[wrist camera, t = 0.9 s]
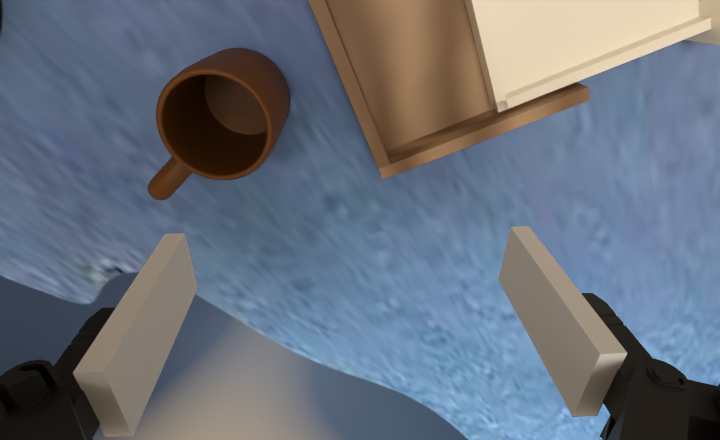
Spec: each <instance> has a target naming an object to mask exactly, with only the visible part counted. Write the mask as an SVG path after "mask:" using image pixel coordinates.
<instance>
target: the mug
mask: <svg viewBox="0 0 720 440" xmlns="http://www.w3.org/2000/svg"><path fill="white" fill-rule="evenodd" d="M289 106H290V95H289V89H288V86H287V83H286V80H285V78H284V77H283V75H282V73H281V72H280V70H279V69H278V68H277V66H276V65H275V64H274V63H273V62H272V61H270V60H269V59H268V58H266V57H265V56H263V55H261V54H260V53H258V52H255V51H252V50H248V49H243V48H232V49H226V50H223V51H220V52H217V53H215V54H213V55H211V56H209V57H206V58H204V59H202V60H200V61H198V62H196V63H194V64H192V65H191V66H189V67H187V68H185V69H184V70H183V71H181V72H180V73H179V74H178V75H176V76H175V77H174V78H173V79H172V80H171V81H170V82H169V83H168V84H167V85H166V86H165V88H164V89H163V91H162V92H161V95H160V97H159V100H158V103H157V109H156V121H157V127H158V131H159V134H160V137H161V139H162V141H163V143H164V145H165V147H166V148H167V150H168V151H169V153H170V154H171V155H172V158H171V159H170V160H169V161H168V162H167V163H166V164H165V165H164V166H163V167H162V169H161V170H160V171H159V172H158V173H157V174H156V175H155V176H154V178H153V179H152V180H151V181H150V183H149V185H148V192H149V194H150V195H151V196H152V197H153V198H155V199H157V200H165V199H167V198H169V197H170V196H171V195H172V194H173V193H174V192H175V191H176V190H177V189H178V188H179V187H180V185H181V184H182V183H183V182H184V181H185V180H186V179H187V178H188V177H189V176H190V174H191V173H192V172H193V173H195V174H198V175H200V176H203V177H206V178H209V179H215V180H232V179H238V178H241V177H244V176H246V175H248V174H250V173H252V172H253V171H255V170H256V169H257V168H258V167H260V166H261V164H262V163H263V162H264V161H265V160H266V158H267V157H268V155H269V154H270V153H271V151H272V150H273V148H274V146H275V144H276V142H277V139H278V137H279V135H280V133H281V131H282V128H283V126H284V123H285V121H286V119H287V116H288V112H289Z"/></svg>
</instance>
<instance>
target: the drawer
mask: <svg viewBox="0 0 720 440" xmlns="http://www.w3.org/2000/svg"><path fill="white" fill-rule="evenodd" d="M465 4H466V8H467V12H468V16H469V20H470V24H471V28H472V32H473V36H474V40H475V44H476V48H477V52H478V56H479V60H480V64H481V68H482V72H483V76H484V80H485V84H486V88H487V92H488V96H489V100H490V104H491V107H492V108H494V109H495V110H496V111H497V112H501V111H504V110H506V109H509V108H512V107H514V106H517V105H519V104H522V103H524V102H527V101H529V100H532V99H534V98H537V97H539V96H542V95H545V94H547V93H550V92H552V91H555V90H557V89H560V88H562V87H565V86H567V85H570V84H572V83H575V82H578V81H580V80H583V79H585V78H588V77H590V76H593V75H595V74H598V73H600V72H603V71H605V70H608V69H611V68H613V67H616V66H618V65H621V64H623V63H626V62H628V61H631V60H633V59H636V58H638V57H641V56H643V55H646V54H649V53H651V52H654V51H656V50H659V49H661V48H664V47H666V46H669V45H671V44H674V43H676V42H679V41H682V40H688V41H695V42H701V43H708V44H714V45H720V0H465Z"/></svg>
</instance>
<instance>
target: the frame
mask: <svg viewBox="0 0 720 440" xmlns="http://www.w3.org/2000/svg"><path fill="white" fill-rule="evenodd" d="M308 1H309V3H310V6H311V8H312V10H313V13H314V15H315V18H316V20H317V22H318V25H319V27H320V30H321V32H322V34H323V37H324V39H325V42H326V44H327V46H328V49H329V51H330V54H331V56H332V58H333V61H334V63H335V66H336V68H337V70H338V73H339V75H340V78H341V80H342V82H343V85H344V87H345V90H346V92H347V94H348V97H349V99H350V102H351V104H352V106H353V109H354V111H355V114H356V116H357V118H358V121H359V123H360V126H361V128H362V130H363V133H364V135H365V138H366V140H367V142H368V145H369V147H370V150H371V152H372V154H373V157H374V159H375V161H376V164H377V166H378V169H379V171H380V173H381V176H382V178H383V179H386V178H388V177H391V176H393V175H396V174H399V173H401V172H404V171H406V170H409V169H412V168H414V167H417V166H419V165H422V164H425V163H427V162H430V161H432V160H435V159H437V158H440V157H443V156H445V155H448V154H450V153H453V152H456V151H458V150H461V149H463V148H466V147H469V146H471V145H474V144H476V143H479V142H482V141H484V140H487V139H489V138H492V137H495V136H497V135H500V134H502V133H505V132H508V131H510V130H513V129H515V128H518V127H521V126H523V125H526V124H528V123H531V122H534V121H536V120H539V119H541V118H544V117H547V116H549V115H552V114H554V113H557V112H559V111H562V110H565V109H567V108H570V107H572V106H575V105H578V104H580V103H583V102H585V101H588V100H590V95H589V87H587V86H584V85H582V84H579V83H577V82H575V83H572V84H570V85H567V86H565V87H562V88H560V89H557V90H555V91H552V92H550V93H547V94H545V95H542V96H539V97H537V98H534V99H532V100H529V101H527V102H524V103H522V104H519V105H517V106H514V107H512V108H509V109H506V110H504V111H501V112H497V111H496V110H495V109H494V108H492V107H491V104H490V100H489V96H488V92H487V88H486V84H485V80H484V76H483V72H482V68H481V64H480V60H479V56H478V52H477V48H476V44H475V40H474V36H473V32H472V28H471V24H470V20H469V16H468V12H467V8H466V4H465V0H308Z"/></svg>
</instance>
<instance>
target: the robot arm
mask: <svg viewBox="0 0 720 440" xmlns="http://www.w3.org/2000/svg"><path fill="white" fill-rule="evenodd" d="M0 20H1V8H0ZM499 281H500V283H501V285H502V287H503V289H504V291H505V292H506V294H507V296H508V298H509V300H510V302H511V303H512V305H513V307H514V309H515V311H516V313H517V315H518V316H519V318H520V320H521V322H522V324H523V326H524V328H525V329H526V331H527V333H528V335H529V337H530V339H531V340H532V342H533V344H534V346H535V348H536V350H537V352H538V353H539V355H540V357H541V359H542V361H543V363H544V364H545V366H546V368H547V370H548V372H549V374H550V376H551V377H552V379H553V381H554V383H555V385H556V387H557V388H558V390H559V392H560V394H561V396H562V398H563V400H564V401H565V403H566V405H567V407H568V409H569V411H570V413H571V414H572V416H573V417H579V416H597V415H598V413H599V411H600V409H601V407H602V405H603V403H604V405H605V406H606V408H607V409H608V411H609V413H610V414H611V415H610V417H609V419H608V421H607V423H606V425H605V427H604V429H603V431H602V433H601V435H600V437H601V438H603V440H720V384H719V385H718V386H714V385H710V384H705V383H701V382H696V381H691V380H688V379H687V378H686V377H685V375H684V374H683V373H681V372H680V371H679V370H678V369H676V368H675V367H673V366H672V365H670V364H668V363H666V362H663V361H660V360H657V359H653V358H652V357H651V356H650V355H649V353H648V352H647V351H646V350H645V349H644V347H643V346H642V345H641V344H640V343H639V341H638V340H637V339H636V338H635V337H634V335H633V334H632V333H631V332H630V331H629V329H628V328H627V327H626V326H624V325H623V322H622V321H621V320H620V319H619V317H618V316H616V314H615V313H614V311H613V310H612V309H611V308H610V307H609V305H608V304H607V303H606V302H604V301H603V300H602V299H600V298H599V297H597V296H596V295H594V294H593V293H580V291H579V290H578V289H577V288H576V286H575V285H574V284H573V282H572V281H571V280H570V279H569V277H568V276H567V275H566V273H565V272H564V271H563V270H562V268H561V267H560V266H559V264H558V263H557V262H556V261H555V259H554V258H553V257H552V255H551V254H550V253H549V252H548V250H547V249H546V248H545V246H544V245H543V244H542V243H541V241H540V240H539V239H538V237H537V236H536V235H535V234H534V232H533V231H532V230H531V228H530V227H529V226H528V227H511V228H510V232H509V237H508V241H507V245H506V250H505V254H504V259H503V263H502V267H501V272H500V276H499ZM197 289H198V286H197V281H196V277H195V273H194V269H193V265H192V261H191V257H190V253H189V249H188V245H187V240H186V236H185V233H175V234H164V236H163V237H162V239H161V240H160V242H159V243H158V245H157V246H156V248H155V249H154V251H153V252H152V254H151V255H150V257H149V258H148V260H147V262H146V263H145V265H144V266H143V268H142V269H141V271H140V272H139V274H138V275H137V277H136V278H135V280H134V281H133V283H132V284H131V286H130V287H129V289H128V290H127V292H126V293H125V295H124V296H123V298H122V299H121V301H120V302H119V304H118V305H117V307H116V308H102V309H100V310H99V311H98V312H96V313H95V314H94V315H93V316H91V317H90V318H89V319H88V320H87V321H86V323H85V324H84V325H83V327H82V328H81V329H80V331H79V334H77V335H76V336H75V338H74V339H73V340H72V342H71V345H69V346H68V348H67V349H66V350H65V352H64V353H63V354H62V356H61V357H60V358H59V360H58V361H57V363H56V364H55V365H54V367H53V366H52V364H51V363H50V362H49V361H44V360H34V361H28V362H25V363H23V364H20V365H17V366H15V367H14V368H12V369H10V370H8V371H6V372H5V373H4V374H3V375H2V376H1V377H0V440H93V439H92V438H93V436H94V434H95V432H96V431H97V429H98V427H99V425H100V427H101V429H102V431H103V433H104V435H105V437H120V436H133V434H134V432H135V430H136V427H137V425H138V423H139V420H140V418H141V416H142V414H143V411H144V409H145V407H146V404H147V402H148V400H149V398H150V396H151V393H152V391H153V389H154V387H155V384H156V382H157V380H158V377H159V375H160V373H161V371H162V368H163V366H164V364H165V362H166V359H167V357H168V355H169V352H170V350H171V348H172V345H173V343H174V341H175V339H176V337H177V334H178V332H179V330H180V327H181V325H182V323H183V321H184V318H185V316H186V314H187V312H188V309H189V307H190V305H191V302H192V300H193V298H194V296H195V293H196V291H197Z"/></svg>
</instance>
